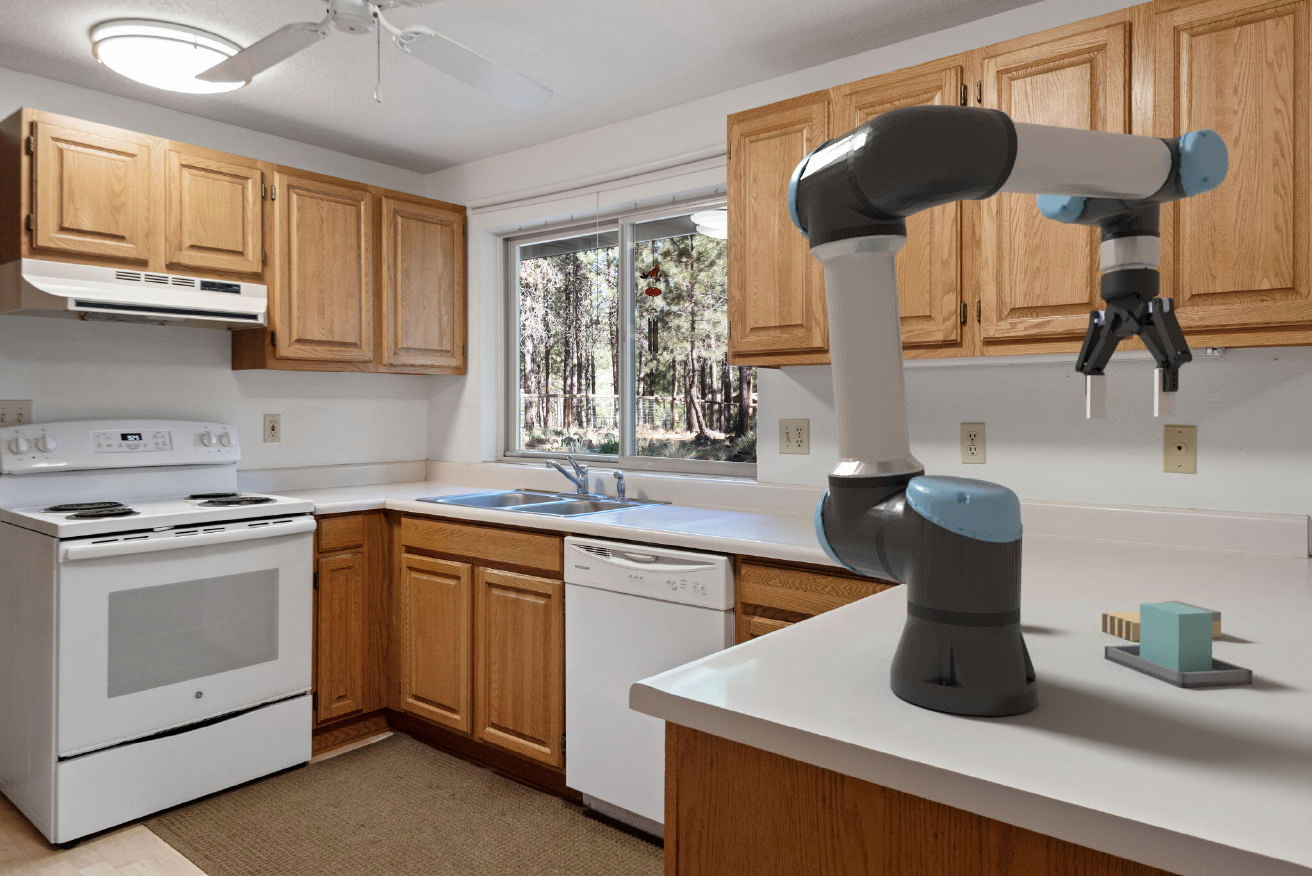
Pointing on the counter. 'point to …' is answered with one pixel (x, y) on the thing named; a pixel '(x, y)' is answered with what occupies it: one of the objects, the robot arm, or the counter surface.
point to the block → (1176, 636)
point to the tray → (1218, 676)
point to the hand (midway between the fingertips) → (1128, 417)
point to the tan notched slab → (1130, 623)
